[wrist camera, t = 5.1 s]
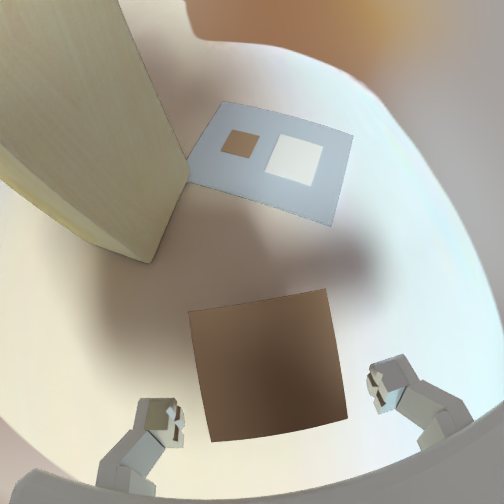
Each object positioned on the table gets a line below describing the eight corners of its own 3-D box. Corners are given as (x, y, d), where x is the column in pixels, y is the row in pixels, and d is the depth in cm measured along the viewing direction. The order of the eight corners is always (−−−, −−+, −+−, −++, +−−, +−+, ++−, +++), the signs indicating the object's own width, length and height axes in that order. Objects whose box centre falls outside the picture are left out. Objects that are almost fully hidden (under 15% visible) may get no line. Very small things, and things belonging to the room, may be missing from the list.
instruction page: (177, 178, 21) (176, 176, 20) (223, 102, 23) (223, 100, 23) (330, 226, 19) (331, 225, 19) (352, 136, 21) (353, 134, 21)
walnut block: (236, 392, 16) (211, 442, 7) (224, 324, 17) (188, 311, 9) (306, 380, 16) (347, 418, 8) (294, 312, 17) (325, 288, 9)
